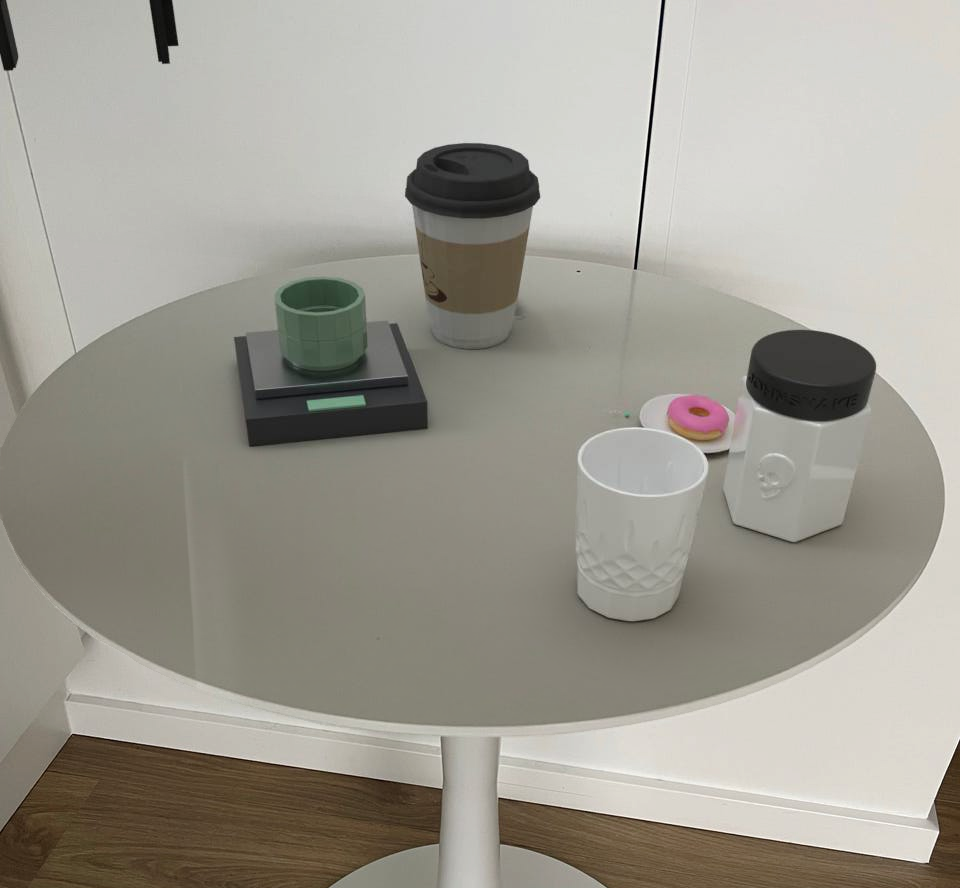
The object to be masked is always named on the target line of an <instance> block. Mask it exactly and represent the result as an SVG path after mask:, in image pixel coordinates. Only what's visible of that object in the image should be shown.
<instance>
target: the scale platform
mask: <svg viewBox="0 0 960 888" xmlns="http://www.w3.org/2000/svg"><path fill="white" fill-rule="evenodd" d="M366 324H367V344H368V345H367V346H368V347H367V349H366V350H365V352H364V354H363V355H362V356H361V357H360V358H359V359H358V360H357V361H356V362H355V363H354V364H352V365H350V366H348V367H345V368H342V369H338V370H332V371H311V370H306V369H302V368H299V367H296V366H295V365H293V364H291V363H290V362H289V361H288V360H287V359H286V358H285V357H284V356H282V355H281V352H280V348H279V339H278V330H277V329H272V330H261V331H250V332H245V336H246V340H247V346H248V352H249V359H250V365H251V371H252V377H253V384H254V390H255V396H256V399H260V398H271V397H281V396H292V395H303V394H313V393H324V392H334V391H345V390H355V389H366V388H376V387H387V386H397V385H408V374H407V371H406V369H405V366H404V363H403V360H402V358H401V355H400V352H399V350H398V347H397V344H396V342H395V339H394V336H393V333H392V331H391V328H390V325H389V324H390V323H389V320H378V321H368V322H367V321H366Z"/></svg>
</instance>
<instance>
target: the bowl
mask: <svg viewBox="0 0 960 888" xmlns="http://www.w3.org/2000/svg"><path fill="white" fill-rule="evenodd" d="M273 300H274V310H275V319H276V330H278V339H279V348H280V352H281V355H282V356H284V357H285V358H286V359H287V360H288V361H289V362H290V363H291V364H293V365H295V366H296V367H299V368H302V369H306V370H311V371H332V370H338V369H342V368H345V367H348V366H350V365H352V364H354V363H355V362H356V361H357V360H358V359H359V358H360V357H361V356H362V355H363V354H364V352H365V350H366V349H367V347H368V346H367V345H368V344H367V324H366V322H367V305H366V294H365V292H364V289H363V287H362V286H360V285H358V284H357V283H356V282H354V281H351V280H348V279H344V278H341V277H335V276H312V277H311V276H310V277H304V278H300V279H296V280H292V281H289V282H288V283H285V284H284V285H282V286H280V287H278V289H277V291H275V293H274V295H273Z"/></svg>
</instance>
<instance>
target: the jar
mask: <svg viewBox="0 0 960 888" xmlns="http://www.w3.org/2000/svg"><path fill="white" fill-rule="evenodd" d="M876 372H877V362H876V360H875V357H874V356H873V355H872V353H871V352H870V350H868V349H867V348H865V347H864V346H862V345H861V344H860V343H858V342H856V341H854V340H852V339H849V338H847V337H845V336H842V335H838V334H835V333H833V332H832V333H831V332H827V331H820V330H811V329H788V330H787V329H786V330H781V331H776V332H773V333H770V334H767V335H765V336H762V337H761V338H760V339H759V340H757V341H756V342H755V343H754V344H753V346H752V349H751V351H750V358H749V363H748V368H747V374H745V375H743V376H742V377H741V382H740V389H739V394H738V400H737V405H736V410H735V411H736V412H735V415H736V416H735V422H734V428H733V433H732V439H731V445H730V449H728V450H729V451H728V456H727V462H726V468H725V474H724V479H723V485H722V491H723V493H724V497H725V500H726V504H727V507H728V511H729V515H730V517H731V521H732V523H733V525H736V526H739V527H742V528H745V529H749V530H752V531H756V532H759V533H761V534H765V535H768V536H772V537H774V538H778V539H781V540H784V541H787V542H790V543H797V542H800V541H803V540H805V539H807V538H810V537H812V536H815V535H818V534H821V533H823V532H825V531H828V530H831V529H834V528H837V527H839V526H841V525H843V523H844V519H845V515H846V511H847V507H848V504H849V500H850V496H851V492H852V488H853V484H854V480H855V477H856V473H857V469H858V465H859V462H860V457H861V453H862V450H863V446H864V443H865V439H866V435H867V431H868V427H869V424H870V419H871V417H872V412H873V410H872V407H871V405H870V403H869V398H870V395H871V391H872V388H873V383H874V380H875V377H876V376H875V375H876Z"/></svg>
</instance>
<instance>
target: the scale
mask: <svg viewBox="0 0 960 888" xmlns="http://www.w3.org/2000/svg"><path fill="white" fill-rule="evenodd" d="M389 325H390V328H391V331H392V333H393V336H394V339H395V342H396V344H397V347H398V350H399V352H400V355H401V358H402V360H403V363H404V366H405V369H406V371H407V374H408V385H397V386H387V387H376V388H366V389H355V390H345V391H334V392H324V393H313V394H303V395H292V396H281V397H271V398H260V399H256V396H255V390H254V384H253V377H252V371H251V365H250V359H249V352H248V346H247V340H246V335H243V336H234V337H233V341H234V349H235V350H234V351H235V357H236V362H237V363H236V364H237V365H236V366H237V370H238V378H239V385H240V391H241V392H240V393H241V398H242V405H243V406H242V407H243V412H244V421H245V426H246V433H247V441H248V447H255V446H266V445H275V444H276V445H278V444H285V443H287V444H288V443H296V442H305V441H315V440H316V441H317V440H327V439H334V438H335V439H336V438H345V437H354V436H355V437H356V436H364V435H376V434H385V433H394V432H403V431H414V430H415V431H416V430H423V429H428V428H429V424H428V423H429V420H428V419H429V418H428V417H429V415H428V410H429V409H428V400H427V398H426V393H425V392H424V389H423V387H422V384H421V382H420V379H419V377H418V373H417V371H416V368H415V366H414V363H413V360H412V358H411V355H410V353H409V351H408V347H407V344H406V342H405V340H404V337H403V334H402V331H401V328H400V325H399V324H398V322H394V323H389Z"/></svg>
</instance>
